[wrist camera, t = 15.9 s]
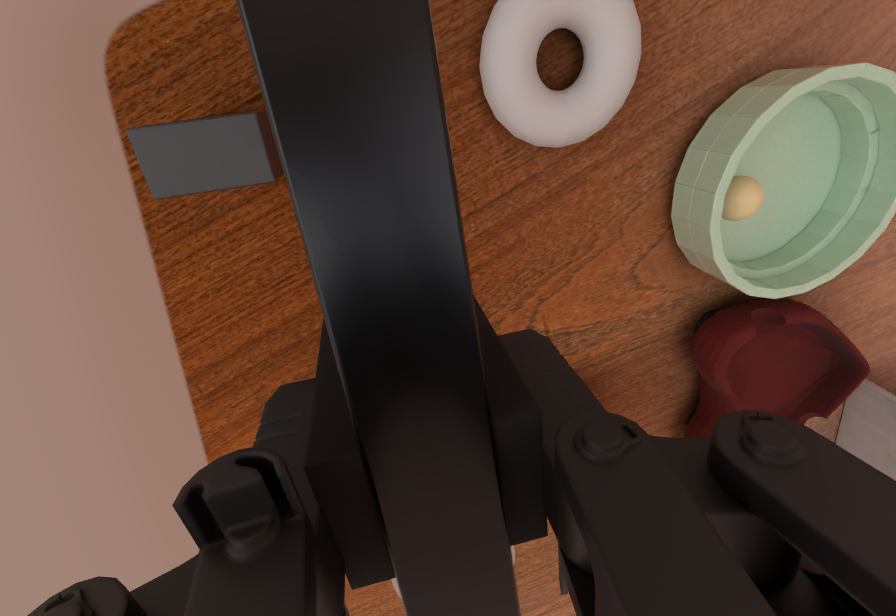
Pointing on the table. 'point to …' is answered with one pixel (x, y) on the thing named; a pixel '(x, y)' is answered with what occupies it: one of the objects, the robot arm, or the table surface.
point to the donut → (598, 85)
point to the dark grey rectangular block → (207, 153)
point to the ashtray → (771, 363)
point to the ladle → (392, 282)
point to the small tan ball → (742, 198)
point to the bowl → (792, 178)
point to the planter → (870, 427)
